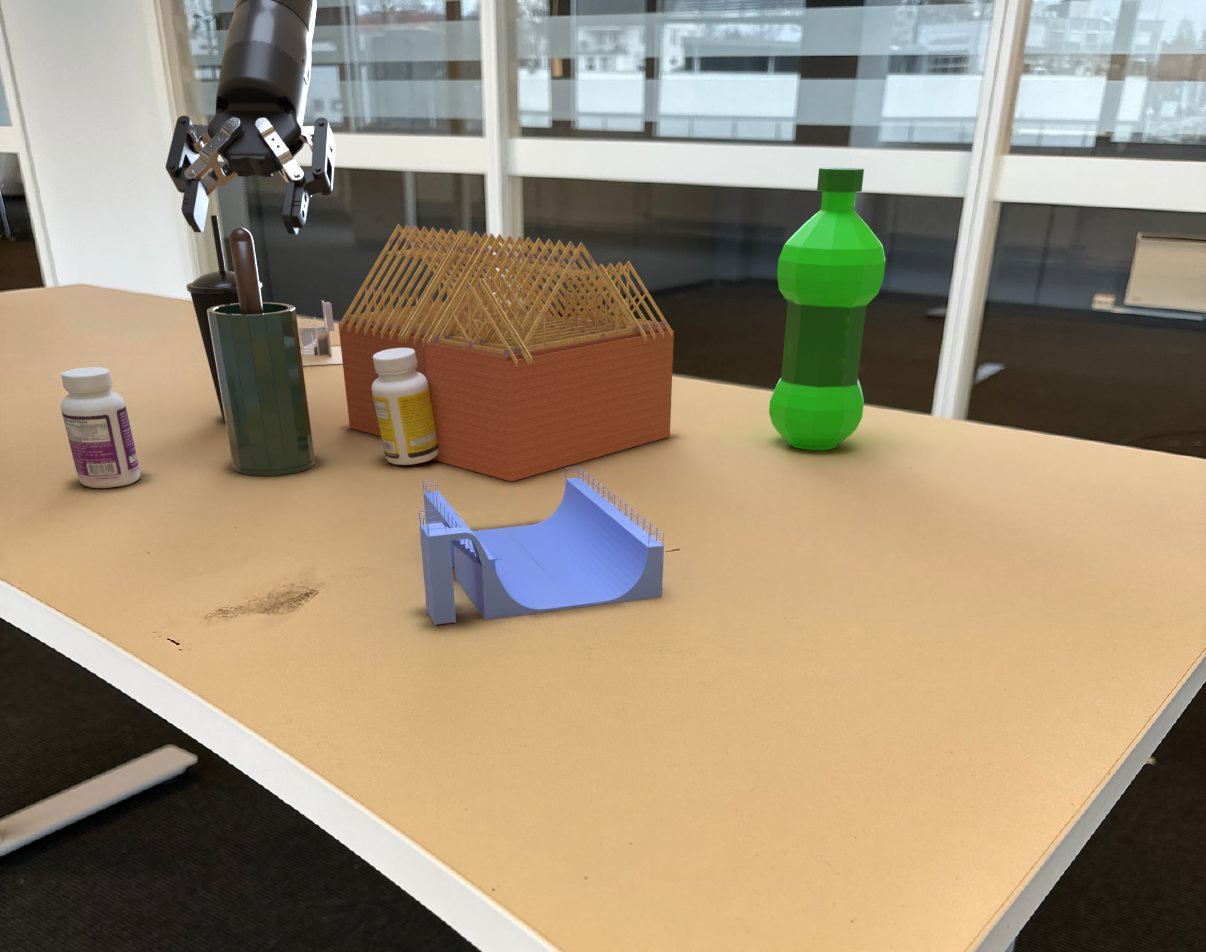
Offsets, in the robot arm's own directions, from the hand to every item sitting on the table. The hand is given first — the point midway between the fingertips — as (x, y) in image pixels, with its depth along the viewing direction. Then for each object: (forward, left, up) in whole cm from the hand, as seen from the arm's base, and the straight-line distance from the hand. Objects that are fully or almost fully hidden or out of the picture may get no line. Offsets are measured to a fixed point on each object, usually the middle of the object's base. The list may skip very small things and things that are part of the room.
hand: (242, 227), depth 98 cm
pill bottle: (-10, -11, -21) cm, 26 cm away
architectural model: (-29, +43, -21) cm, 55 cm away
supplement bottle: (+11, +7, -20) cm, 24 cm away
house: (+14, +20, -21) cm, 32 cm away
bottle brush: (0, 0, -20) cm, 20 cm away
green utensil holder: (0, 0, -21) cm, 21 cm away
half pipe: (+35, -16, -21) cm, 43 cm away
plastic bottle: (+45, +31, -21) cm, 58 cm away
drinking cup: (-15, +14, -21) cm, 29 cm away
